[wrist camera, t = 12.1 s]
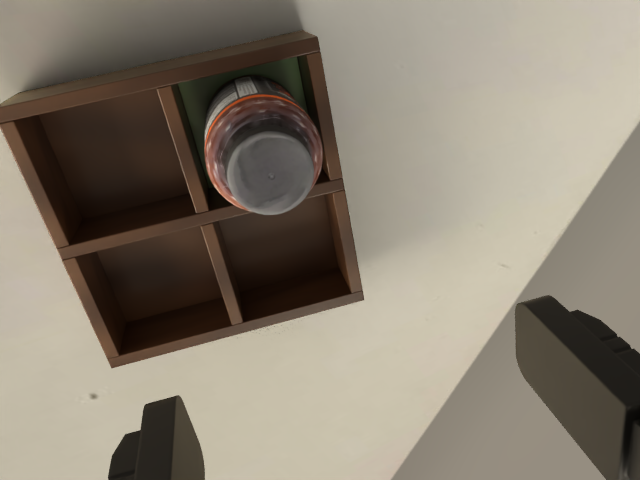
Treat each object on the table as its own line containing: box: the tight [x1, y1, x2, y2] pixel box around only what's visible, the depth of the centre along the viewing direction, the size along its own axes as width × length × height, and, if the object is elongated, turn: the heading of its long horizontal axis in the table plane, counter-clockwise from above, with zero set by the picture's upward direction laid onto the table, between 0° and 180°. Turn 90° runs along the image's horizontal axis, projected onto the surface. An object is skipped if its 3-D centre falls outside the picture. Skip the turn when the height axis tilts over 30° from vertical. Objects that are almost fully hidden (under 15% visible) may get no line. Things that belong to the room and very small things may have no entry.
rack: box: [0, 30, 364, 368], centre depth 35 cm, size 17×17×5 cm
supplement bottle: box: [204, 75, 323, 215], centre depth 29 cm, size 6×6×11 cm
